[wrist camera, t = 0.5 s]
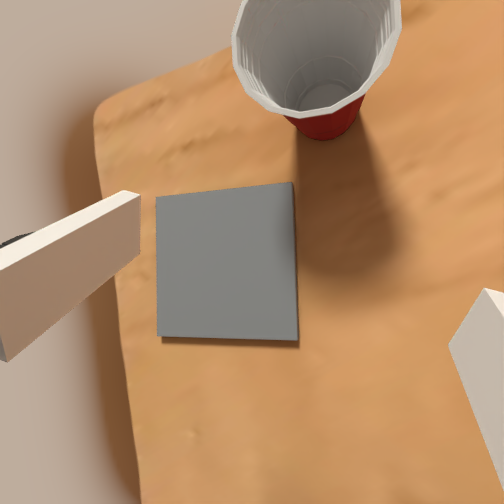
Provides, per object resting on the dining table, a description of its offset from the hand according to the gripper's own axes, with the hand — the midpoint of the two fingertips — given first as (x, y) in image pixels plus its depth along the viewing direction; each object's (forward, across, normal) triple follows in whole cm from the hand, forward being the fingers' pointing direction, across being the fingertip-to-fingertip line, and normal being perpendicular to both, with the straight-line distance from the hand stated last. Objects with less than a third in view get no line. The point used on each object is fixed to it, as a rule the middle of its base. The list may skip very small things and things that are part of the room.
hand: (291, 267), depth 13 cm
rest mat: (+17, +7, +12) cm, 22 cm away
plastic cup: (+24, +1, -4) cm, 25 cm away
